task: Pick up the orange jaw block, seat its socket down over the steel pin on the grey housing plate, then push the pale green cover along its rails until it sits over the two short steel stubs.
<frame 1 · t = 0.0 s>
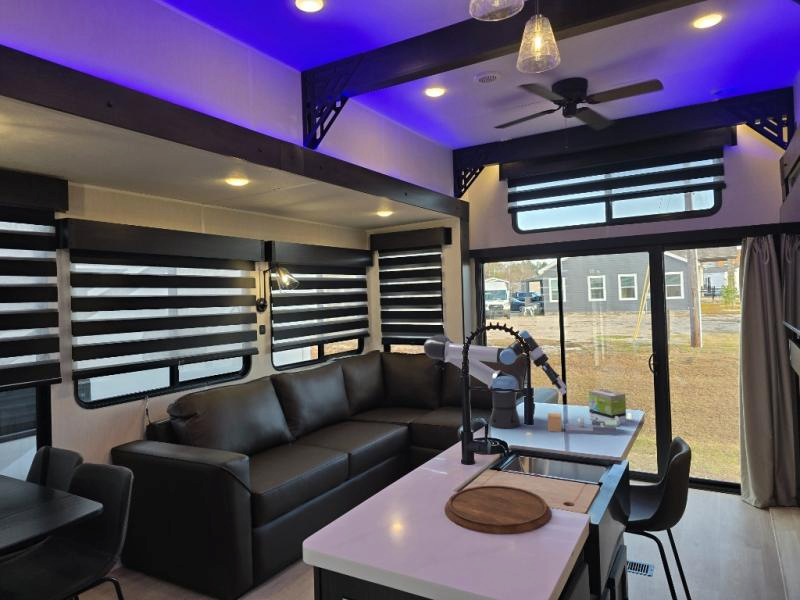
hand: (564, 390, 265), 15 cm above the kitchen island, tool tilted 35°, fingers open, 13 cm apart
jaw block: (554, 429, 249), on the kitchen island
tea box: (607, 421, 262), on the kitchen island
cutting board: (497, 512, 159), on the kitchen island
cover: (611, 421, 242), point 5 cm above the kitchen island, slide at 0.0 cm
housing plate: (590, 430, 245), on the kitchen island
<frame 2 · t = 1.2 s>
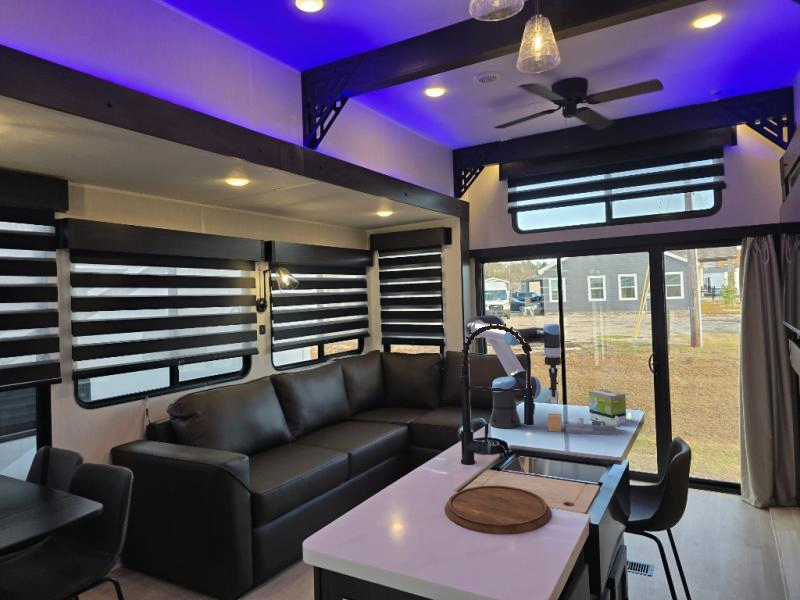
hand: (554, 400, 249), 14 cm above the kitchen island, tool pointing down, fingers open, 13 cm apart
nothing on the kitchen island moved.
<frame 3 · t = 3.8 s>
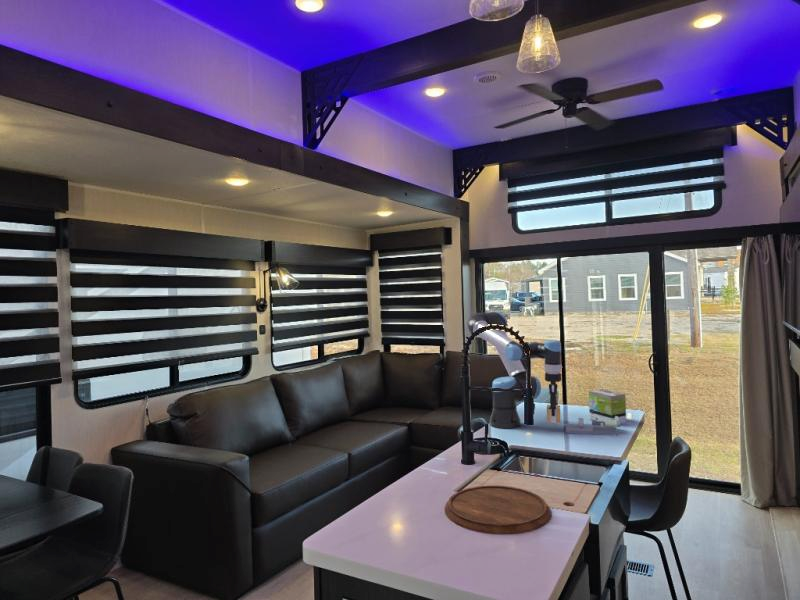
hand: (553, 420, 250), 4 cm above the kitchen island, tool pointing down, fingers closed on jaw block, 6 cm apart
jaw block: (553, 421, 250), point 4 cm above the kitchen island, touching gripper
everything else where it was.
when the fingers open (2 cm above the kitchen island, at t = 7.9 s): jaw block stays where it is, resting on housing plate.
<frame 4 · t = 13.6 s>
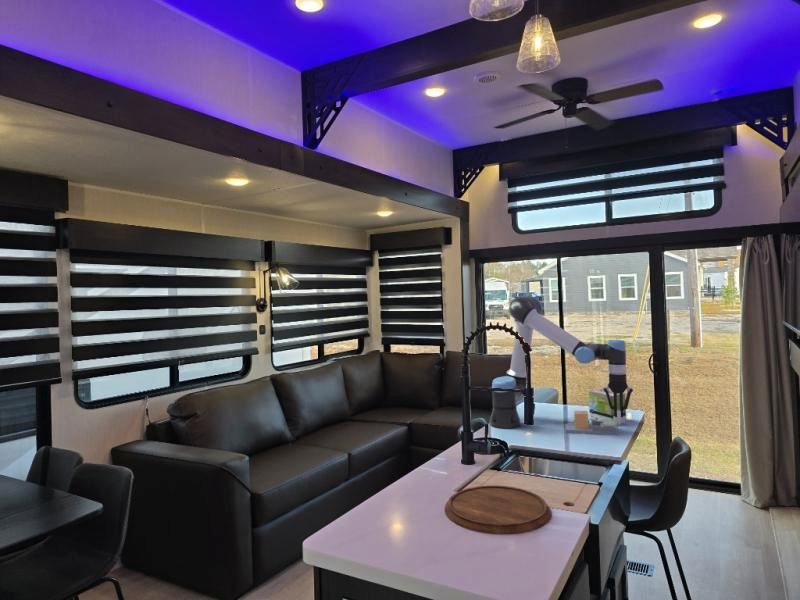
hand: (618, 423, 241), 4 cm above the kitchen island, tool pointing down, fingers closed
jaw block: (581, 427, 246), point 1 cm above the kitchen island, touching housing plate
cover: (610, 421, 242), point 5 cm above the kitchen island, slide at 0.7 cm, touching gripper
everything else where it was.
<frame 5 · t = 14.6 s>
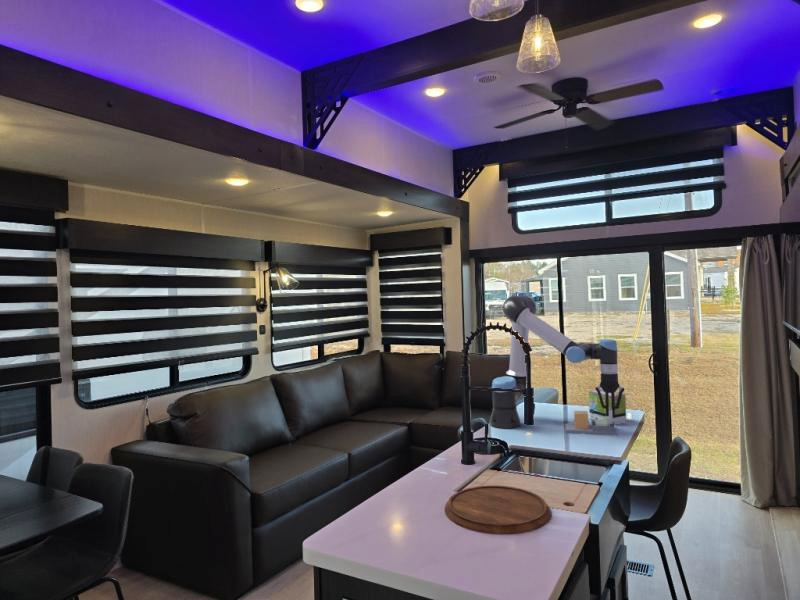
hand: (610, 423, 242), 4 cm above the kitchen island, tool pointing down, fingers closed
cover: (602, 420, 244), point 5 cm above the kitchen island, slide at 4.2 cm
everything else where it was.
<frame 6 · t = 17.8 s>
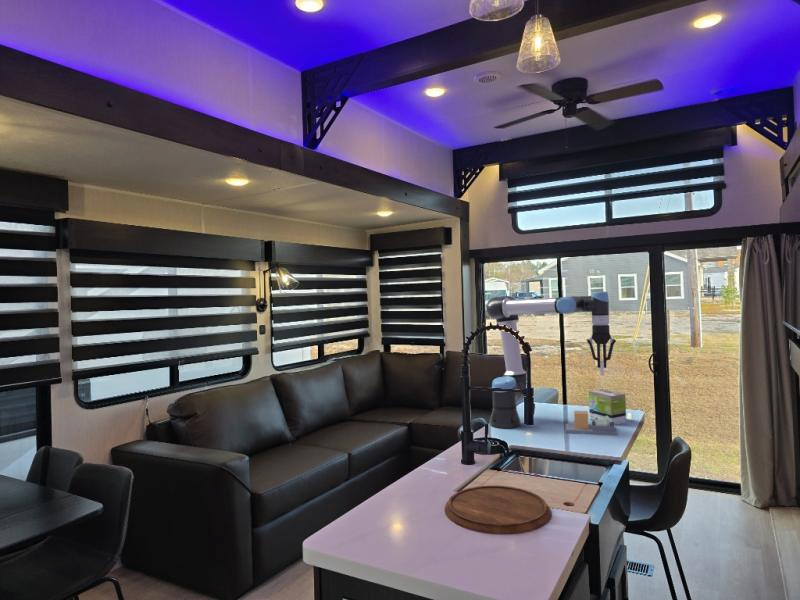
hand: (602, 374, 243), 26 cm above the kitchen island, tool pointing down, fingers closed
nothing on the kitchen island moved.
at the end: jaw block 0.1 cm from the target spot on the housing plate, point 1.5 cm above the housing plate's base; cover slide at 4.2 cm; jaw block tilted 0° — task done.
